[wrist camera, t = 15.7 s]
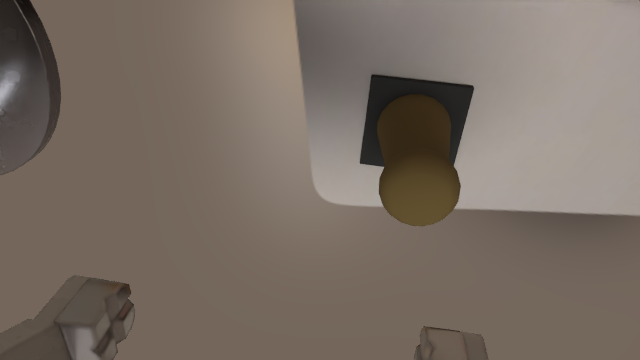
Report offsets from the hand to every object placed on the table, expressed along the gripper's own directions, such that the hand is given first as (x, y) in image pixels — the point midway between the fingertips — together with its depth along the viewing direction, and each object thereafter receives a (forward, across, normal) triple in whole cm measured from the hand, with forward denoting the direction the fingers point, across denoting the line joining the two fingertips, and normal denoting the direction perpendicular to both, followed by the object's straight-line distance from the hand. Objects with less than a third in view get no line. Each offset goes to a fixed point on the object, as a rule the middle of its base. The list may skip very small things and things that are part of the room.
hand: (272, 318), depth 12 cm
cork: (+26, -6, +6) cm, 28 cm away
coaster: (+27, -6, +6) cm, 28 cm away
